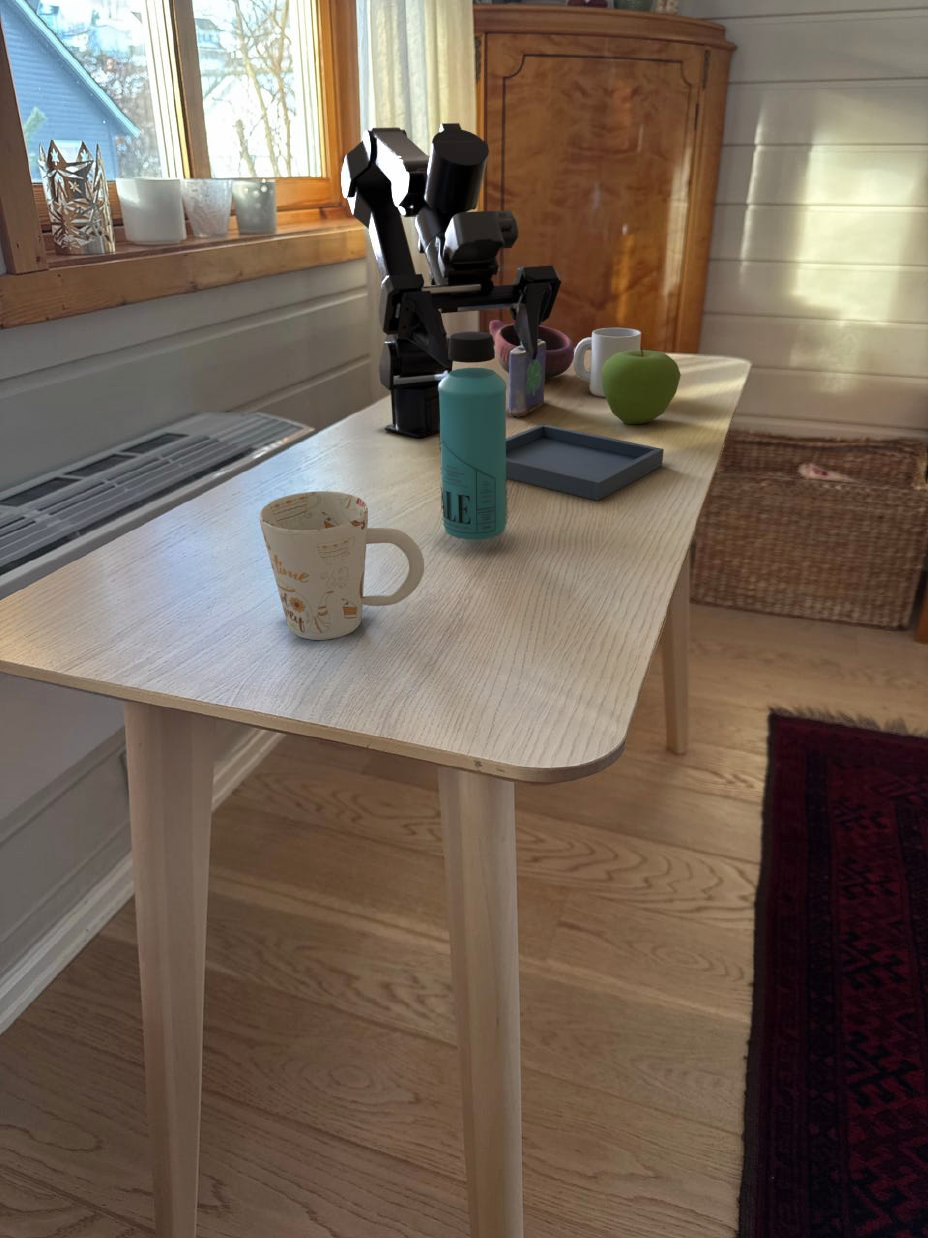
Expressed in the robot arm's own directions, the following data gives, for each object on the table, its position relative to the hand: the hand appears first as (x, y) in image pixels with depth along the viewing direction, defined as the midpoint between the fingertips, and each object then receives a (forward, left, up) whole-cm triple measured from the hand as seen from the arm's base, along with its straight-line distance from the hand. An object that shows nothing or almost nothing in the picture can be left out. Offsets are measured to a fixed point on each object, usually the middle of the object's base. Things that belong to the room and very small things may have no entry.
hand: (492, 360), depth 90 cm
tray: (0, +15, -15) cm, 21 cm away
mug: (+7, -28, -16) cm, 33 cm away
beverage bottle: (+5, -9, -16) cm, 19 cm away
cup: (-15, +48, -15) cm, 52 cm away
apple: (-3, +37, -16) cm, 40 cm away
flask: (-19, +33, -16) cm, 41 cm away
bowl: (-30, +48, -15) cm, 58 cm away
